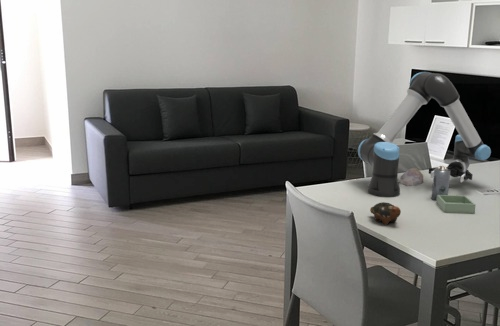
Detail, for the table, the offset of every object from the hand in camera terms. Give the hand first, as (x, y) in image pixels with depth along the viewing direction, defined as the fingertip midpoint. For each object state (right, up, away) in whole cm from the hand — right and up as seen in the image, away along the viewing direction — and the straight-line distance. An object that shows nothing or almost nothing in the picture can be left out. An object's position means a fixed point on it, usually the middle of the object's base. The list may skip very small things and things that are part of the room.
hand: (446, 177), depth 251 cm
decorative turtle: (-38, -17, -36) cm, 55 cm away
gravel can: (-5, -10, -6) cm, 13 cm away
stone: (-10, -3, +23) cm, 25 cm away
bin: (-3, -13, -19) cm, 23 cm away
